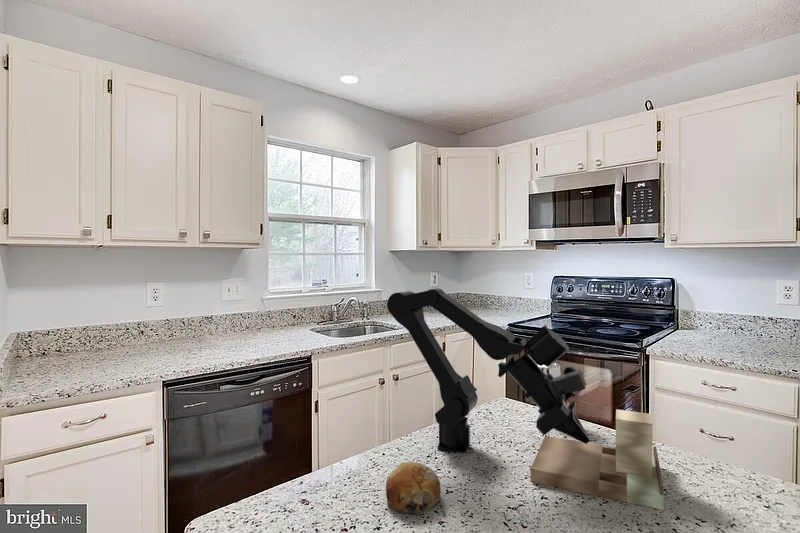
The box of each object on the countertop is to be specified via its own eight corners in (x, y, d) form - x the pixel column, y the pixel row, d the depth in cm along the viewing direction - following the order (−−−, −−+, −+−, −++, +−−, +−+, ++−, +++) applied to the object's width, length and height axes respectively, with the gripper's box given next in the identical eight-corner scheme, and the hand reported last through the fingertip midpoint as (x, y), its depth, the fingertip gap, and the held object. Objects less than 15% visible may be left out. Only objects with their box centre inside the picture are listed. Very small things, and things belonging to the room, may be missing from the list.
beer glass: (565, 425, 113) (564, 368, 113) (538, 425, 113) (537, 368, 113) (555, 416, 120) (555, 362, 120) (530, 416, 120) (530, 362, 120)
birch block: (615, 471, 83) (615, 418, 83) (616, 458, 88) (616, 409, 88) (652, 478, 80) (652, 423, 80) (650, 464, 85) (650, 413, 85)
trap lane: (530, 481, 84) (530, 460, 84) (545, 446, 100) (545, 429, 100) (663, 510, 74) (663, 486, 74) (656, 466, 90) (656, 446, 90)
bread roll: (444, 514, 80) (447, 466, 83) (430, 518, 71) (435, 465, 74) (392, 505, 83) (398, 459, 86) (374, 507, 74) (381, 457, 77)
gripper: (555, 365, 82) (620, 435, 77) (566, 348, 98) (620, 404, 93) (512, 401, 85) (571, 469, 80) (530, 378, 102) (580, 434, 97)
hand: (588, 441), depth 88 cm, fingers closed
